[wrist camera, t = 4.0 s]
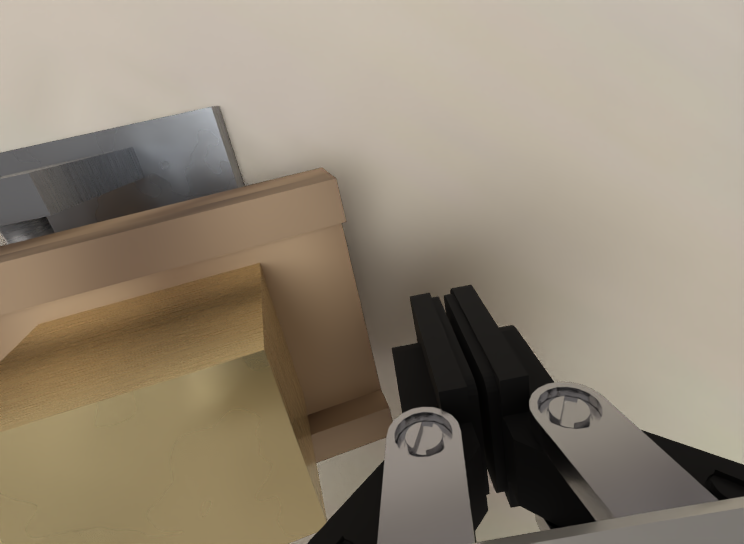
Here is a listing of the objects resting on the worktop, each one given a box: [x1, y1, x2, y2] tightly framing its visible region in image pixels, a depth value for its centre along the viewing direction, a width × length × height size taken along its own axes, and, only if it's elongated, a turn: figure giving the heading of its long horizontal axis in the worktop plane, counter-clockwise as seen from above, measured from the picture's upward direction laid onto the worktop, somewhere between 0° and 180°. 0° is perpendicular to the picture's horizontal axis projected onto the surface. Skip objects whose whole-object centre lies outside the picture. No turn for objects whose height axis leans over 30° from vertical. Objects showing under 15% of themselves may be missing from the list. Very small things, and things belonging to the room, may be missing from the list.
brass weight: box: [0, 263, 327, 544], centre depth 10 cm, size 6×5×5 cm
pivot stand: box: [0, 106, 348, 248], centre depth 17 cm, size 21×14×7 cm
